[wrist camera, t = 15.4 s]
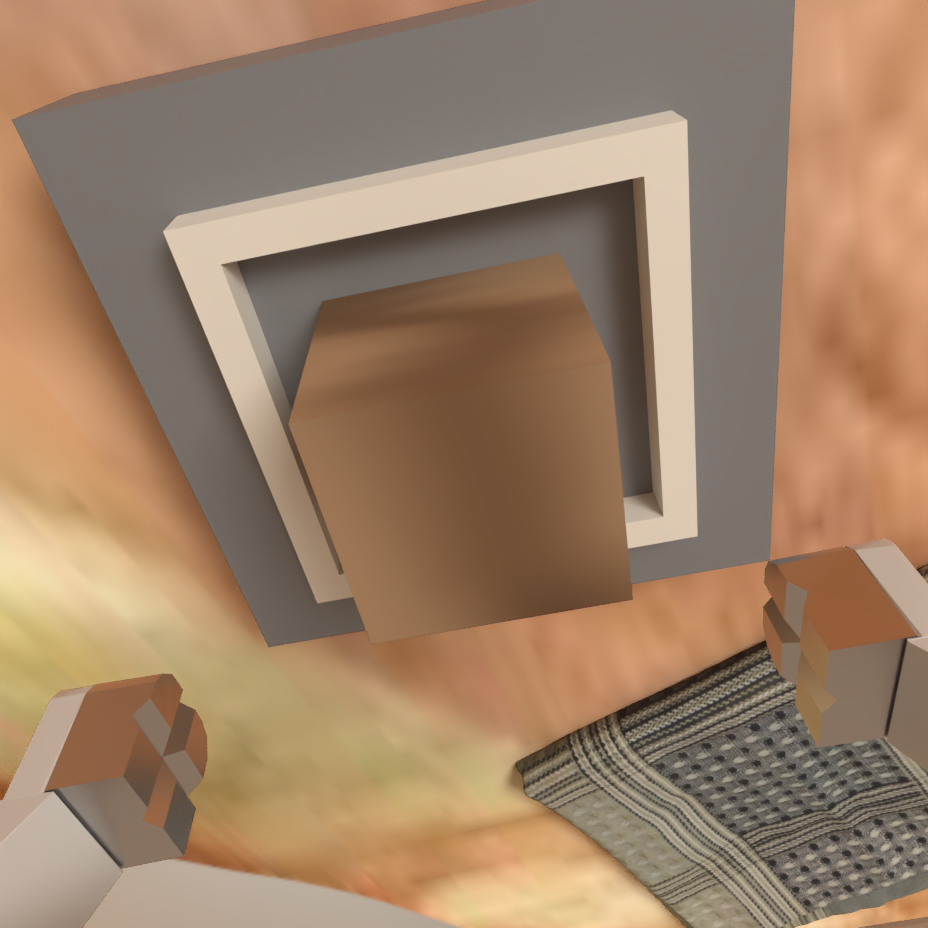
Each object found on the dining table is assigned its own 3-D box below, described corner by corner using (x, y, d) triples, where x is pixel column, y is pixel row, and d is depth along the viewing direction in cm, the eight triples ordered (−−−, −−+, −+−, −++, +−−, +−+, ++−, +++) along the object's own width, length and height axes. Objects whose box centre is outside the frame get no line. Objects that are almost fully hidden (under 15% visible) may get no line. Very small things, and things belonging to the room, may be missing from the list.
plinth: (284, 575, 24) (262, 675, 21) (74, 94, 16) (-15, 130, 13) (732, 494, 23) (784, 585, 20) (735, -56, 15) (823, -59, 12)
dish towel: (498, 749, 30) (505, 825, 28) (945, 533, 25) (1007, 602, 23) (702, 924, 39) (722, 994, 37) (1065, 791, 34) (1120, 862, 31)
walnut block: (381, 490, 19) (371, 644, 15) (322, 300, 16) (288, 423, 12) (584, 453, 18) (632, 599, 14) (560, 252, 16) (610, 361, 11)
